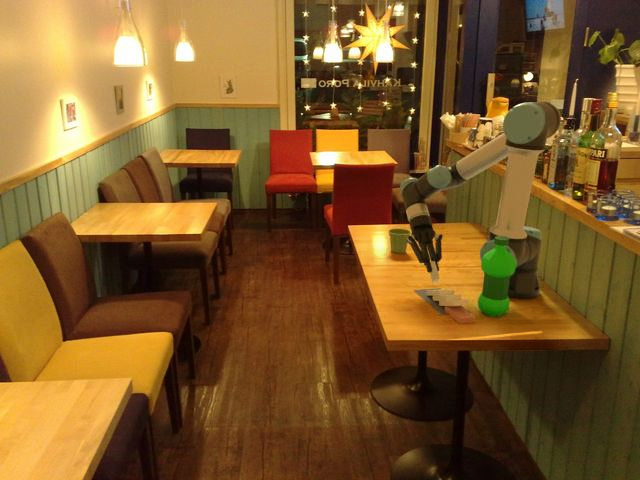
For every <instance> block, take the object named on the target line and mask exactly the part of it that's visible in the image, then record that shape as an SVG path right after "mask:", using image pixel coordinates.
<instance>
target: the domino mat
mask: <svg viewBox="0 0 640 480" xmlns="http://www.w3.org/2000/svg"><path fill="white" fill-rule="evenodd" d="M428 290H443V289H442V288H440V287H435V288H426V289H425V288H424V289H413V291H414V293H416V294H417V295H418V296H419V297H420V298H422V300H423V301H425V302H426V303H427V304H428V305H429V306H431V307H432V308H433V309H434V310H435V311H436V312H437V313H438V314H439V315H440V316H450V315H449V314H448V313H447V312H446V311H444V310H445V306H439V301H433V296H430V295H427V293H426V291H428ZM462 307H463V308H464V309H465V310H467V311H468V312H469V313H470V314H472V312H471V311H469V310H468V309H467V308H466V307H464V305H462Z"/></svg>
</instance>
